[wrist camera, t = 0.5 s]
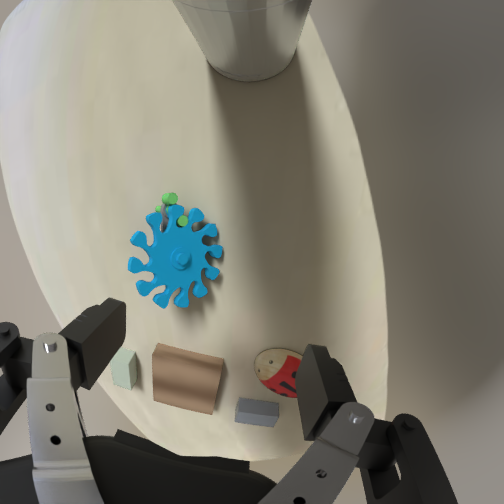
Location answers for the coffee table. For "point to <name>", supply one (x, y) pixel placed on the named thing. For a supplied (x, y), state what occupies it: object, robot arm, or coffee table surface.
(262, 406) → the slate brick
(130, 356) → the sage brick
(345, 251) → the coffee table surface
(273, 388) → the ladybug figurine
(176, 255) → the gear
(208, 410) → the walnut block
